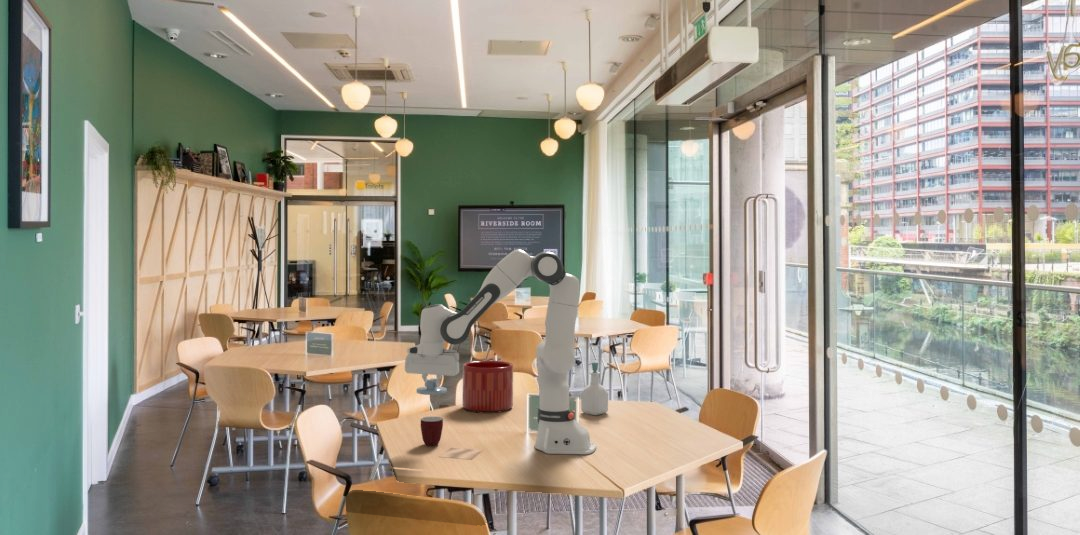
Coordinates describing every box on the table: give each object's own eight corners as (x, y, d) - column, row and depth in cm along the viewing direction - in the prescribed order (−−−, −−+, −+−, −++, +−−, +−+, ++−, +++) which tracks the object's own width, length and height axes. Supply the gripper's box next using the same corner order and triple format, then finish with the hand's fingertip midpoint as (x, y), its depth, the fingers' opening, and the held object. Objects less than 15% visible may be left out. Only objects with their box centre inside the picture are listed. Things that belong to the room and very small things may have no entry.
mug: (442, 450, 258) (443, 422, 258) (420, 451, 257) (420, 423, 256) (442, 443, 268) (442, 416, 268) (420, 443, 267) (420, 416, 267)
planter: (492, 416, 314) (493, 369, 313) (452, 409, 326) (452, 364, 326) (522, 406, 333) (523, 363, 333) (483, 400, 346) (483, 359, 345)
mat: (482, 451, 257) (482, 450, 257) (471, 461, 245) (471, 459, 245) (451, 449, 259) (451, 447, 259) (438, 458, 248) (438, 456, 248)
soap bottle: (594, 410, 328) (594, 360, 327) (609, 413, 320) (610, 362, 320) (579, 413, 321) (579, 362, 321) (595, 416, 314) (595, 364, 314)
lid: (451, 390, 266) (451, 377, 266) (440, 395, 255) (440, 382, 255) (423, 388, 269) (423, 376, 268) (411, 393, 258) (411, 381, 258)
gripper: (462, 348, 262) (461, 386, 263) (410, 346, 267) (409, 383, 267) (456, 351, 256) (455, 389, 256) (403, 348, 261) (402, 386, 261)
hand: (431, 386), depth 262 cm, fingers closed on lid, 2 cm apart
